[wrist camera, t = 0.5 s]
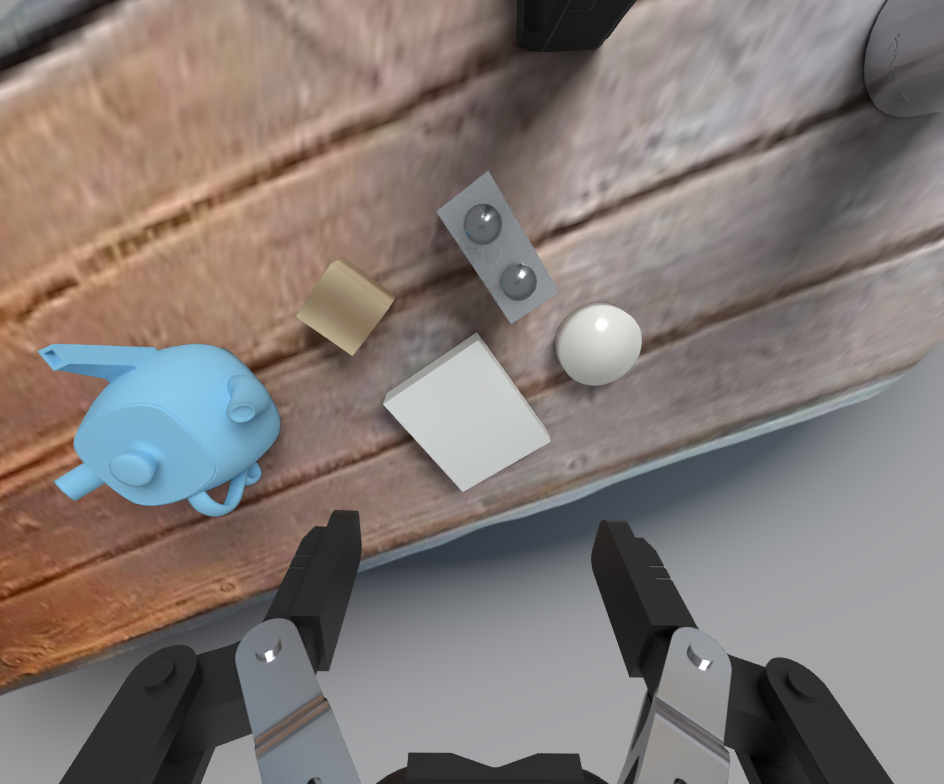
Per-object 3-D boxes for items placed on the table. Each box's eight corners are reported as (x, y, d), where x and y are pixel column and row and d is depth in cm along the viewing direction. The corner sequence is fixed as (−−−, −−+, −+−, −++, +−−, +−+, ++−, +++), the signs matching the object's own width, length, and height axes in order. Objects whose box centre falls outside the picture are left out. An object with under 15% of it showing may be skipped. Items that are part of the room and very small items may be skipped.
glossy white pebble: (611, 286, 33) (620, 290, 31) (644, 349, 36) (654, 357, 34) (540, 332, 35) (545, 339, 33) (577, 389, 37) (583, 399, 36)
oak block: (345, 256, 31) (331, 263, 28) (396, 296, 33) (389, 307, 29) (312, 303, 33) (295, 316, 29) (363, 340, 35) (352, 356, 31)
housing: (482, 176, 29) (489, 169, 23) (542, 277, 33) (561, 293, 27) (439, 209, 30) (435, 211, 24) (501, 304, 34) (512, 326, 28)
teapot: (142, 289, 32) (-5, 330, 22) (311, 350, 35) (251, 412, 24) (131, 437, 38) (12, 524, 28) (276, 478, 41) (217, 571, 30)
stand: (476, 329, 34) (478, 340, 32) (544, 424, 39) (551, 441, 36) (388, 389, 36) (383, 404, 34) (462, 472, 41) (462, 491, 38)
